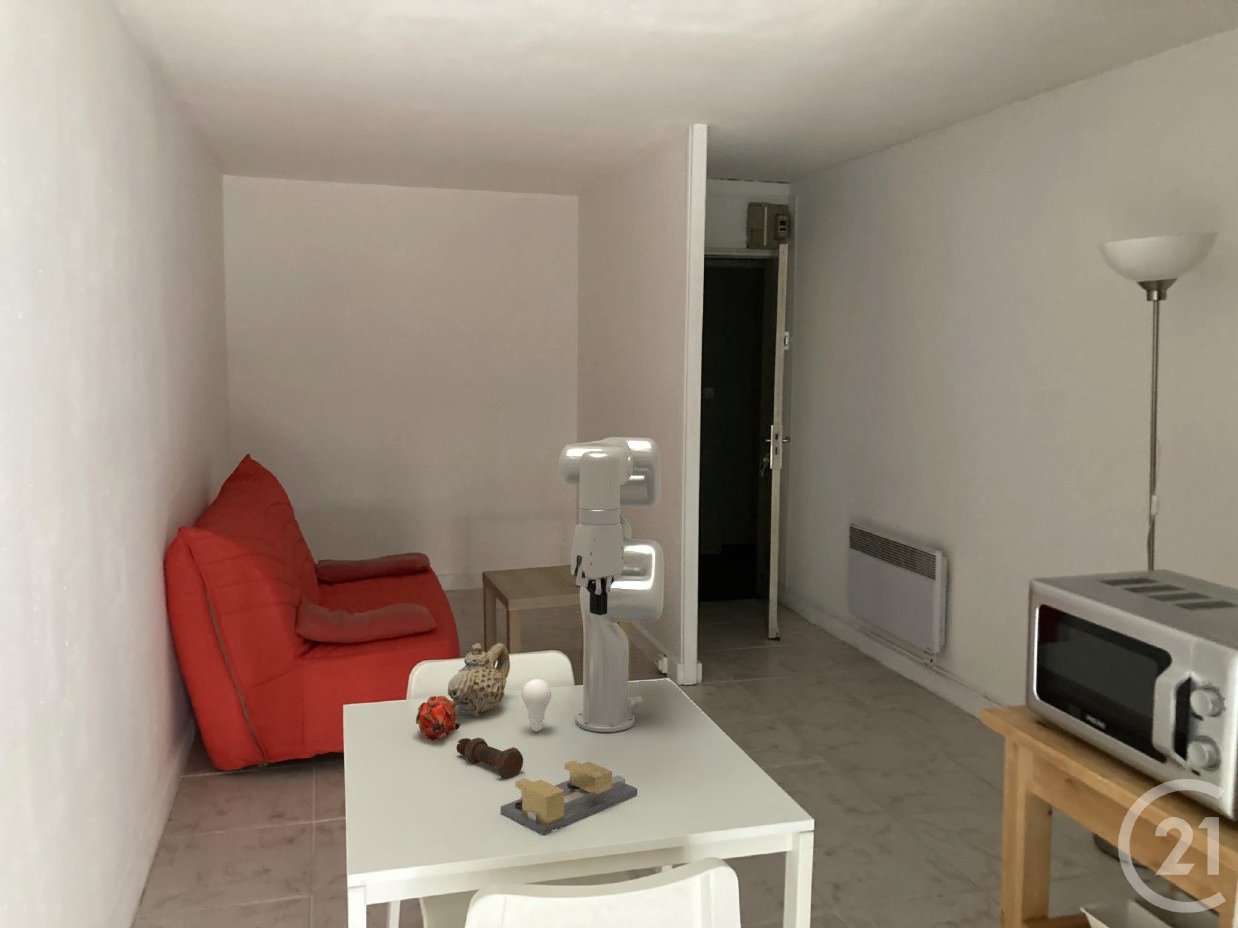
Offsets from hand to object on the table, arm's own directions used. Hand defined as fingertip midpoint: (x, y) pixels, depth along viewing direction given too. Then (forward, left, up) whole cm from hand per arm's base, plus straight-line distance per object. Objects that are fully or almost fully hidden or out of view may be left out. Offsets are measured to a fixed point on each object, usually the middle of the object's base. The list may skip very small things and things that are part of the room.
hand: (598, 613), depth 192 cm
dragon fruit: (+14, -32, -29) cm, 46 cm away
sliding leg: (+13, +10, -27) cm, 32 cm away
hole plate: (+16, +10, -29) cm, 35 cm away
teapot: (-1, -38, -29) cm, 48 cm away
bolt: (+16, -13, -30) cm, 36 cm away
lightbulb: (-2, -20, -29) cm, 36 cm away
